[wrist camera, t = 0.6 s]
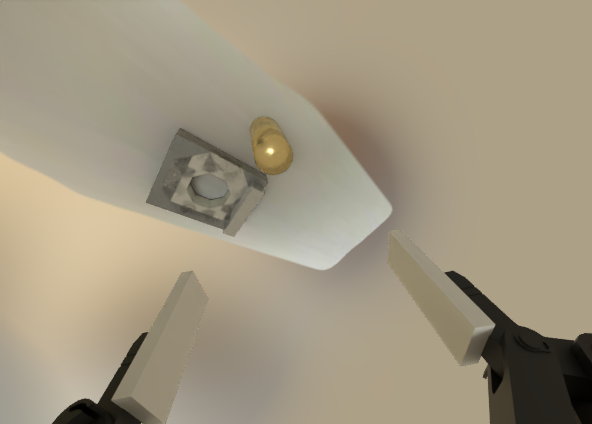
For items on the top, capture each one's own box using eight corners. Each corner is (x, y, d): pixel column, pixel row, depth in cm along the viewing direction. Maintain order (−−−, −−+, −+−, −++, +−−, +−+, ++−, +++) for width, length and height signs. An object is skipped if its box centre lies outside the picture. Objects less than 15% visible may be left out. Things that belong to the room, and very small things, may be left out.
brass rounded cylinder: (249, 115, 30) (254, 136, 22) (279, 118, 31) (294, 139, 23) (249, 145, 32) (254, 174, 25) (277, 147, 33) (290, 175, 26)
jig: (151, 193, 33) (140, 211, 29) (179, 128, 29) (171, 139, 25) (232, 223, 40) (232, 240, 37) (265, 175, 36) (269, 189, 32)
